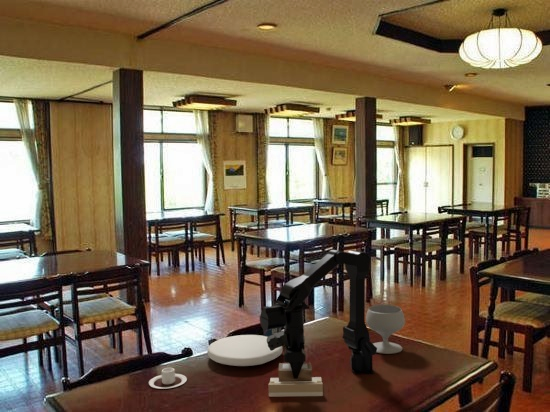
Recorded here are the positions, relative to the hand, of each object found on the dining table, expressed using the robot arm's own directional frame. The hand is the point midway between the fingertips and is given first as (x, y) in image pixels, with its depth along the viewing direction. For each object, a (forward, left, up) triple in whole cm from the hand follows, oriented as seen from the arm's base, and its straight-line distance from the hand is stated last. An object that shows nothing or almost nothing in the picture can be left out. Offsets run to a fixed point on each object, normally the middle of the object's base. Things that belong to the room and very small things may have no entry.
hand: (295, 374), depth 163 cm
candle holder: (+41, -5, -5) cm, 42 cm away
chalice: (-33, -32, -4) cm, 46 cm away
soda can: (+9, -45, -4) cm, 47 cm away
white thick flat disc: (+18, -26, -4) cm, 32 cm away
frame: (0, 0, -1) cm, 1 cm away
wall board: (0, +1, -4) cm, 4 cm away
